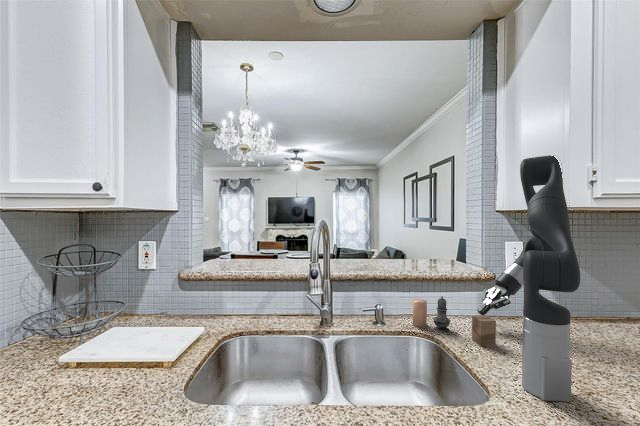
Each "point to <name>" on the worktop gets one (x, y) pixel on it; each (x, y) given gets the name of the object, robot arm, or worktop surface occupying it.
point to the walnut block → (484, 330)
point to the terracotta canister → (419, 313)
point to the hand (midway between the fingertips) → (480, 313)
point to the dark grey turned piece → (441, 317)
